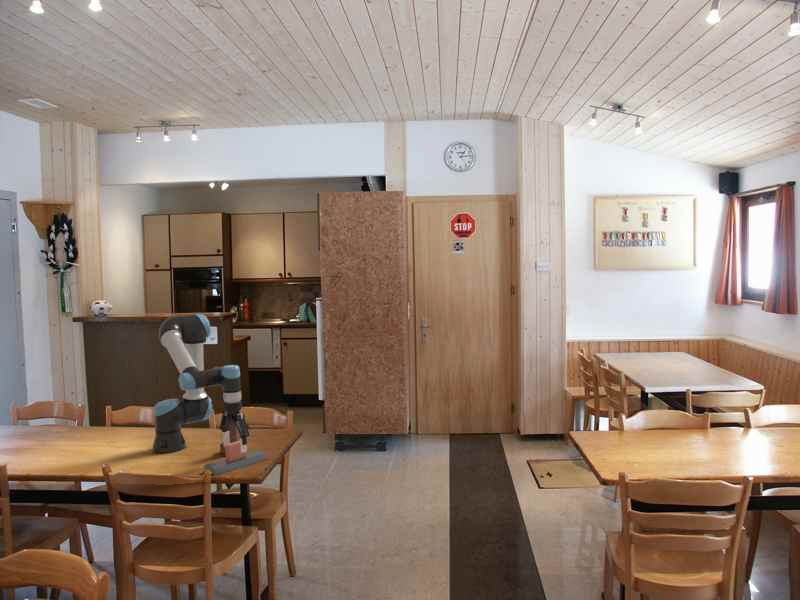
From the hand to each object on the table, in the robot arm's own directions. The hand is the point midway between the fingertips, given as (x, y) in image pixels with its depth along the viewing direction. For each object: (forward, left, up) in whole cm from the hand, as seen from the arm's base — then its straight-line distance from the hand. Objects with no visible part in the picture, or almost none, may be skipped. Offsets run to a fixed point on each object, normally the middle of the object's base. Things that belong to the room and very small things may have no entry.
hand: (235, 449), depth 269 cm
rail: (0, 0, -7) cm, 7 cm away
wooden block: (-19, +9, -7) cm, 22 cm away
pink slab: (0, 0, -7) cm, 7 cm away
